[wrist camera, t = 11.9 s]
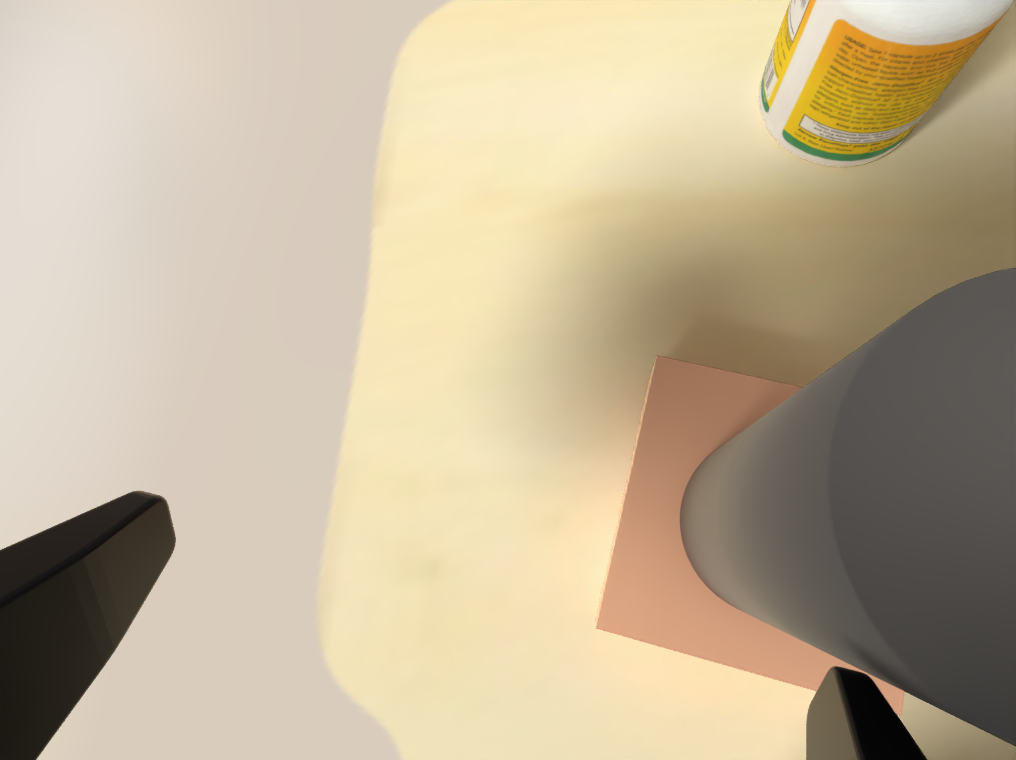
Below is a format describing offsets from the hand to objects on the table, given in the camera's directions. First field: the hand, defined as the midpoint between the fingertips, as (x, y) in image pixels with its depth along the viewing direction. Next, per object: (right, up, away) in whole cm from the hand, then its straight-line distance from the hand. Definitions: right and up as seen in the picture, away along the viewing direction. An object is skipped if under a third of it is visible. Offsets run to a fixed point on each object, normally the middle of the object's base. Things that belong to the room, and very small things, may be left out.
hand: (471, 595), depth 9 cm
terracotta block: (+8, -2, +13) cm, 16 cm away
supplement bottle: (+12, +12, +16) cm, 24 cm away
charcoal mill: (+8, -1, +10) cm, 13 cm away
